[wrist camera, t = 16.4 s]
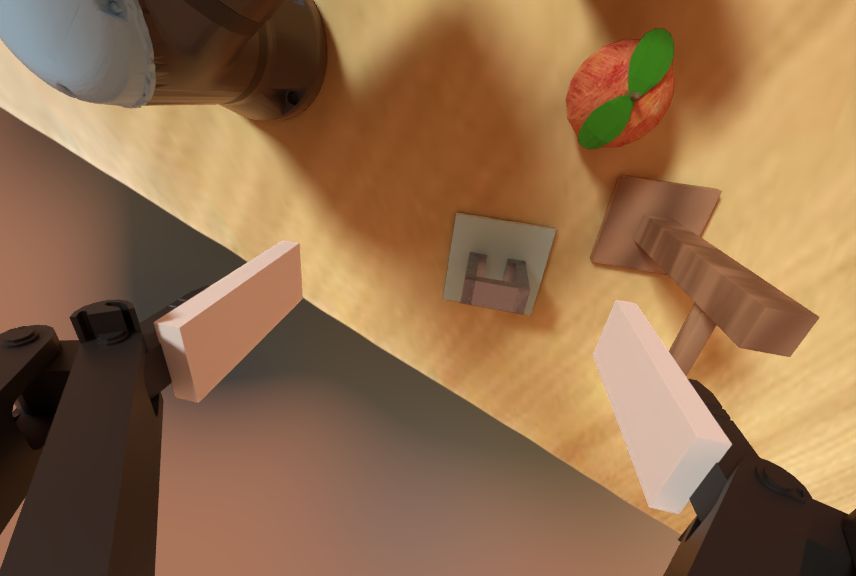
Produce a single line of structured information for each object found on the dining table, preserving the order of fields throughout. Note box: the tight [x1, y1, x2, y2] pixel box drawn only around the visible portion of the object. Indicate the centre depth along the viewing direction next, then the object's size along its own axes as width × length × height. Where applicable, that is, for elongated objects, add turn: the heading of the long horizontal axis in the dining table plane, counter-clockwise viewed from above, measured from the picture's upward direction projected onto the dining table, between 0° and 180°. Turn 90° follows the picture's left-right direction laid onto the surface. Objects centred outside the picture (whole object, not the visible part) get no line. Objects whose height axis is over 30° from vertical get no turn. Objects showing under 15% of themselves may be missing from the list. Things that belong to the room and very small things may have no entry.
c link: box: [460, 252, 530, 315], centre depth 43 cm, size 7×3×8 cm, turn 83°
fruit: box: [566, 29, 675, 149], centre depth 32 cm, size 9×10×10 cm
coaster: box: [443, 212, 556, 315], centre depth 47 cm, size 12×12×1 cm
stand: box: [590, 175, 819, 376], centre depth 34 cm, size 10×18×22 cm, turn 173°
